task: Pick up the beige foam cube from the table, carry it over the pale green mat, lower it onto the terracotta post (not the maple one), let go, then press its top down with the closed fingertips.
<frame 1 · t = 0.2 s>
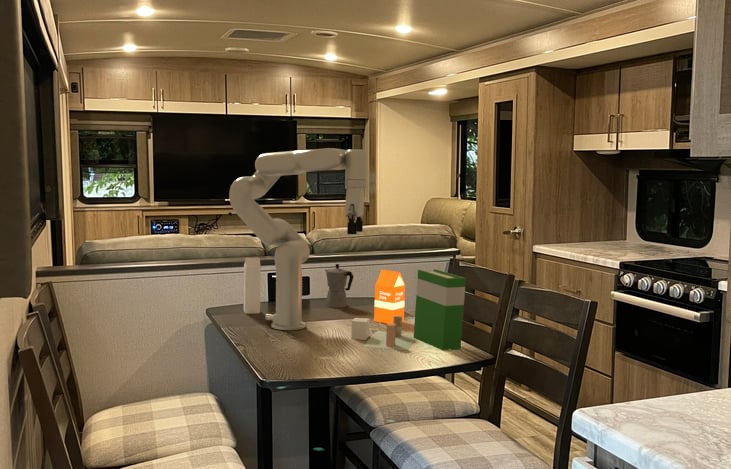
hand: (355, 232, 241), 36 cm above the table, tool pointing down, fingers open, 9 cm apart
beige foam cube: (360, 338, 236), on the table
orange juice: (388, 322, 262), on the table
hardback book: (436, 343, 232), on the table, touching mat
milk: (251, 312, 273), on the table
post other: (397, 335, 240), resting on mat
mat: (391, 341, 233), on the table
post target: (390, 345, 227), resting on mat
coffeepot: (338, 306, 289), on the table
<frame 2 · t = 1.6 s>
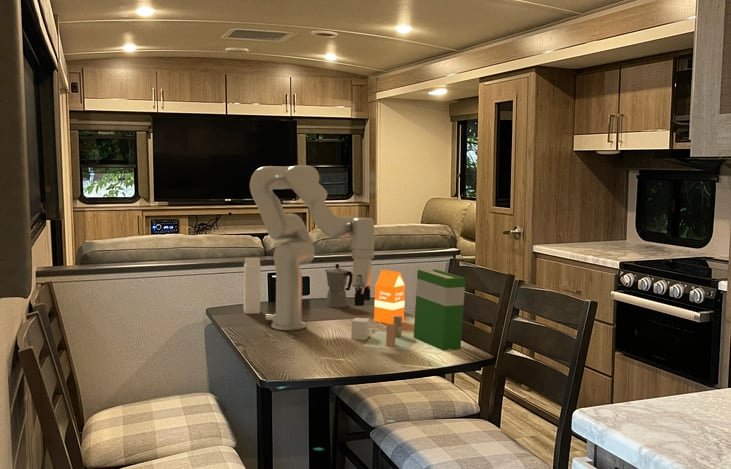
hand: (362, 302, 235), 13 cm above the table, tool pointing down, fingers open, 9 cm apart
nothing on the table moved.
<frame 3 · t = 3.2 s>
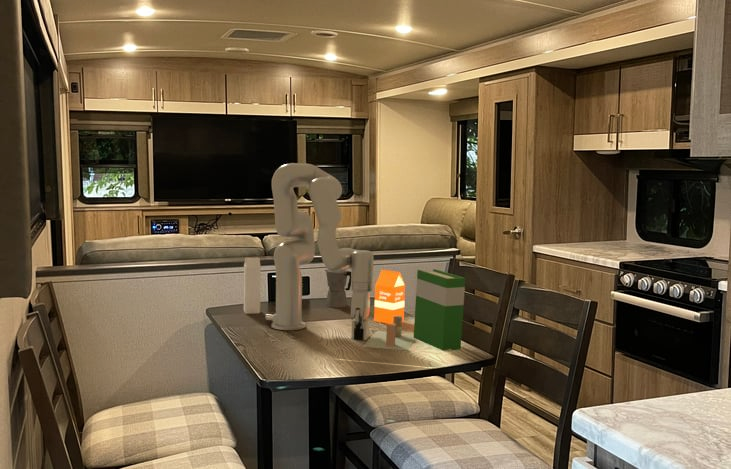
hand: (360, 337, 236), 0 cm above the table, tool pointing down, fingers closed on beige foam cube, 5 cm apart
beige foam cube: (360, 338, 236), on the table, touching gripper
everything else where it was.
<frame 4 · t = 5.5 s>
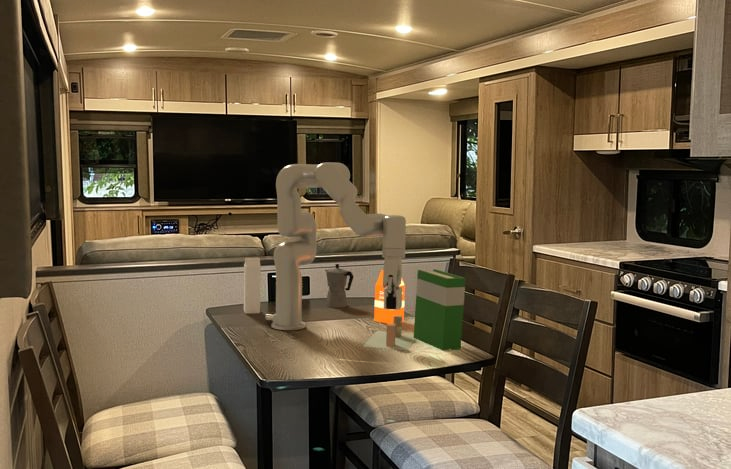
hand: (392, 306, 225), 14 cm above the table, tool pointing down, fingers closed on beige foam cube, 5 cm apart
beige foam cube: (392, 307, 225), point 13 cm above the table, touching gripper
everything else where it was.
when the fingers open (3 cm above the table, at t = 7.8 s): beige foam cube drops 1 cm, resting on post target.
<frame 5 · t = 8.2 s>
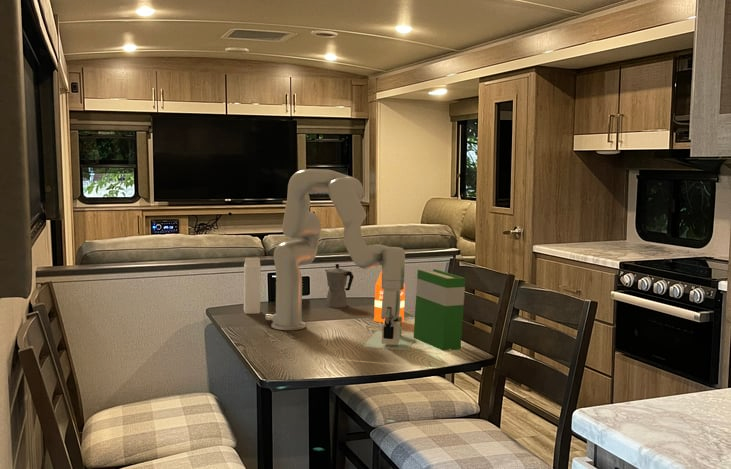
hand: (391, 335, 227), 4 cm above the table, tool pointing down, fingers open, 9 cm apart
beige foam cube: (390, 342, 227), point 1 cm above the table, touching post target
everything else where it was.
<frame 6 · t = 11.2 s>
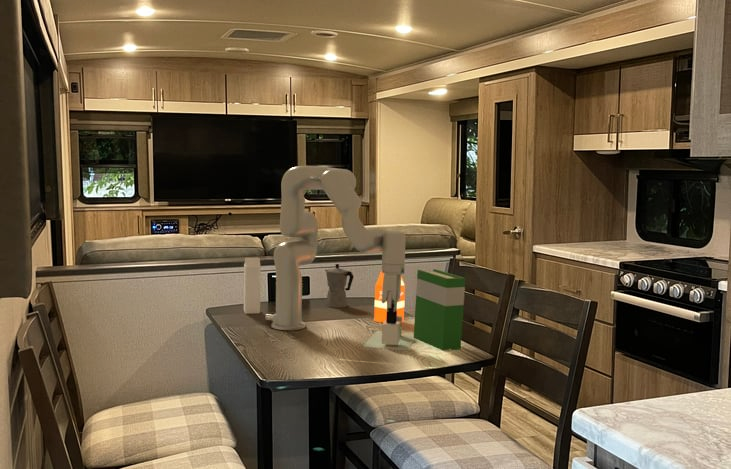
hand: (391, 322, 226), 8 cm above the table, tool pointing down, fingers closed
beige foam cube: (390, 342, 227), point 1 cm above the table, touching gripper, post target
everything else where it was.
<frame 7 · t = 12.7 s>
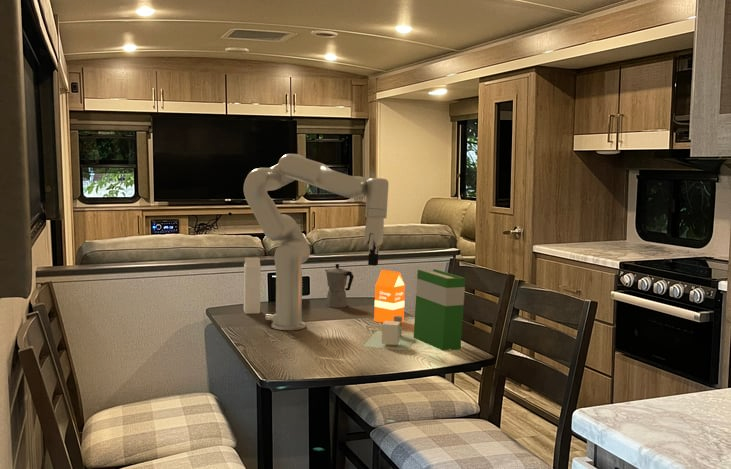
hand: (372, 264, 240), 25 cm above the table, tool pointing down, fingers closed
beige foam cube: (390, 342, 227), point 1 cm above the table, touching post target
everything else where it was.
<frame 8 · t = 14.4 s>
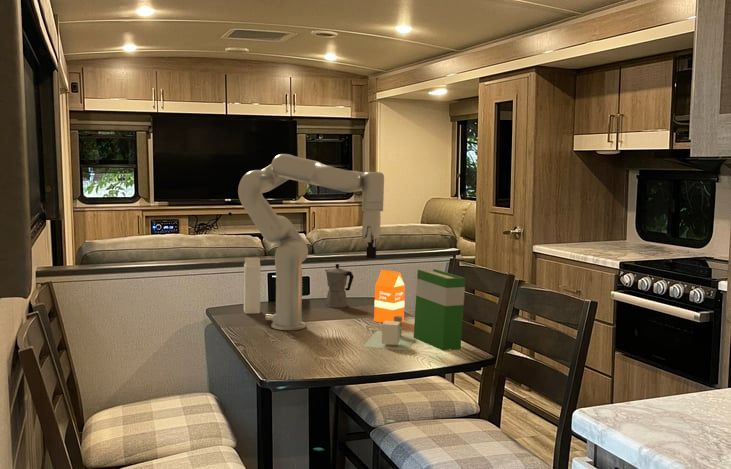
hand: (371, 257, 243), 27 cm above the table, tool pointing down, fingers closed
nothing on the table moved.
at the end: beige foam cube 0.0 cm from the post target (horizontally); beige foam cube point 1.4 cm above the table; the gripper is holding nothing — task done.
